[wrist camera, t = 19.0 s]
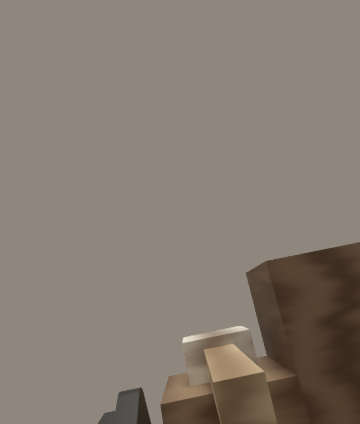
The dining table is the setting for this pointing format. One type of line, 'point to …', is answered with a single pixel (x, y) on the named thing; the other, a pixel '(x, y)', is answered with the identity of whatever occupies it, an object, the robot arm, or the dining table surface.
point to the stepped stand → (296, 342)
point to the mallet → (230, 375)
